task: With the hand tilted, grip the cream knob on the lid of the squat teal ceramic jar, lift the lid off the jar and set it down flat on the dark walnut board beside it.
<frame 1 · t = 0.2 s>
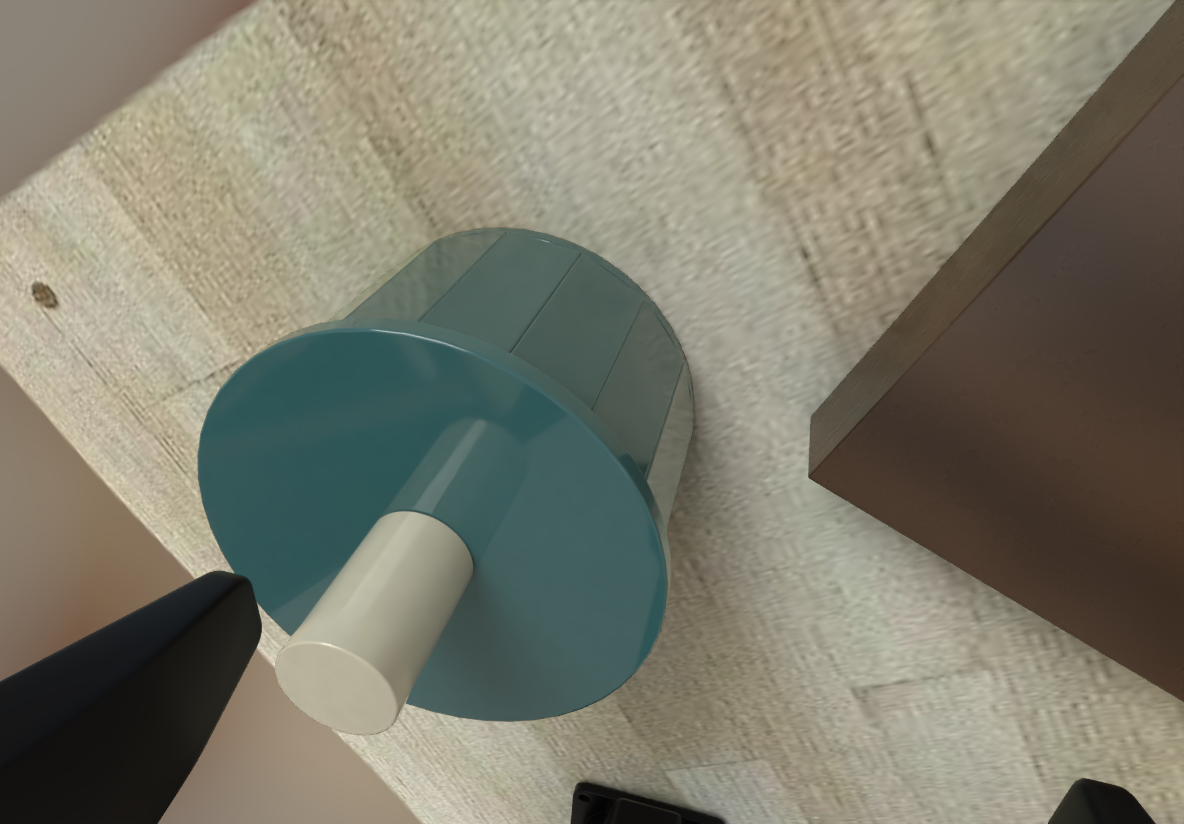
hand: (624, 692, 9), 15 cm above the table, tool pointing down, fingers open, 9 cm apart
lid: (432, 538, 19), point 7 cm above the table, touching jar
jar: (523, 392, 25), on the table
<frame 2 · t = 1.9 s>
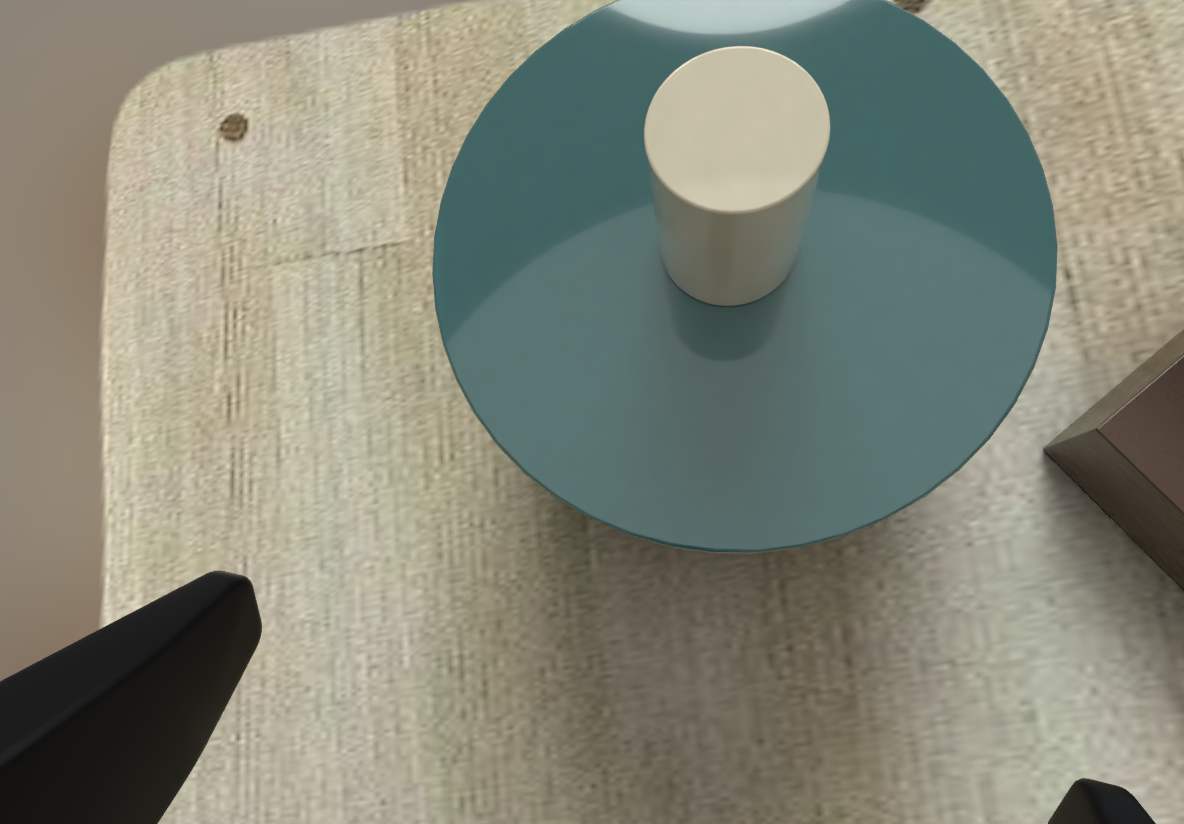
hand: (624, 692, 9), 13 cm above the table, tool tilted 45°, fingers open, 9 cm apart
lid: (727, 253, 16), point 7 cm above the table, touching jar
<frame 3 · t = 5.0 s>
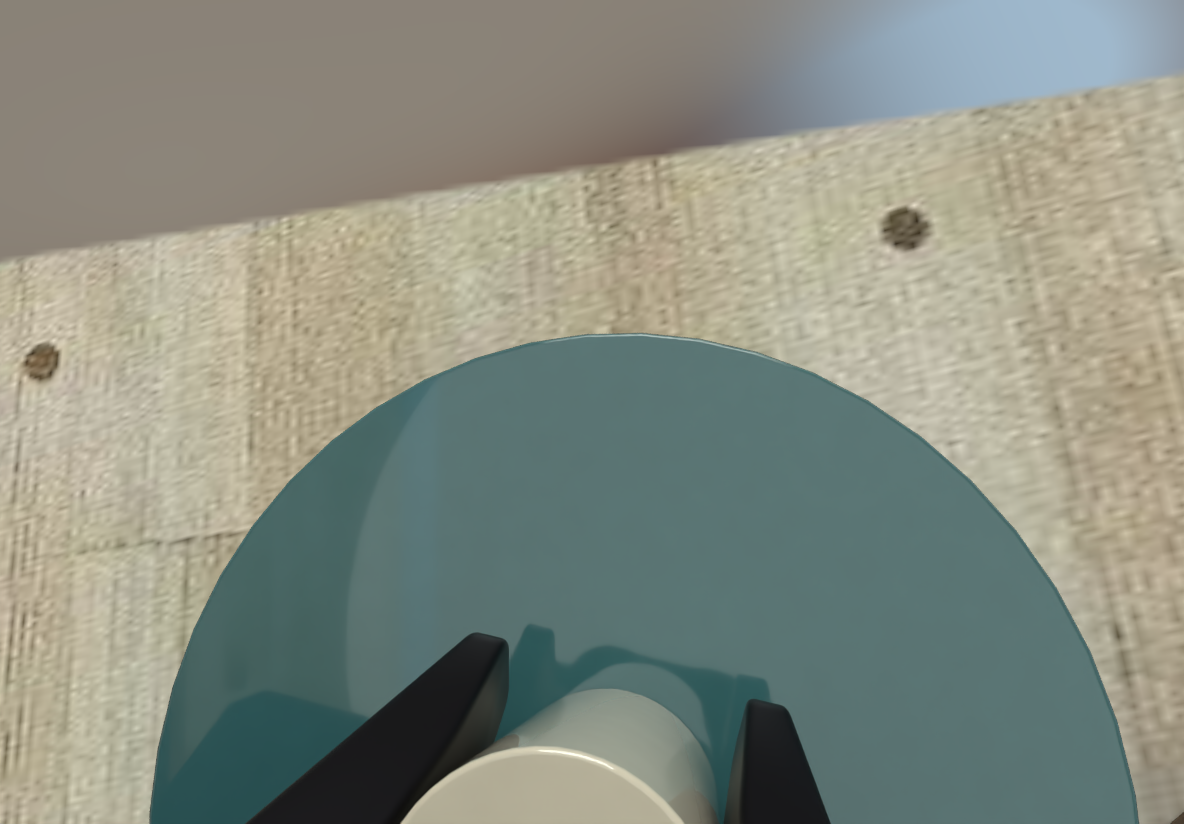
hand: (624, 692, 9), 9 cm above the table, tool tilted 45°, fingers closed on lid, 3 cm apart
lid: (612, 792, 10), point 7 cm above the table, touching gripper, jar
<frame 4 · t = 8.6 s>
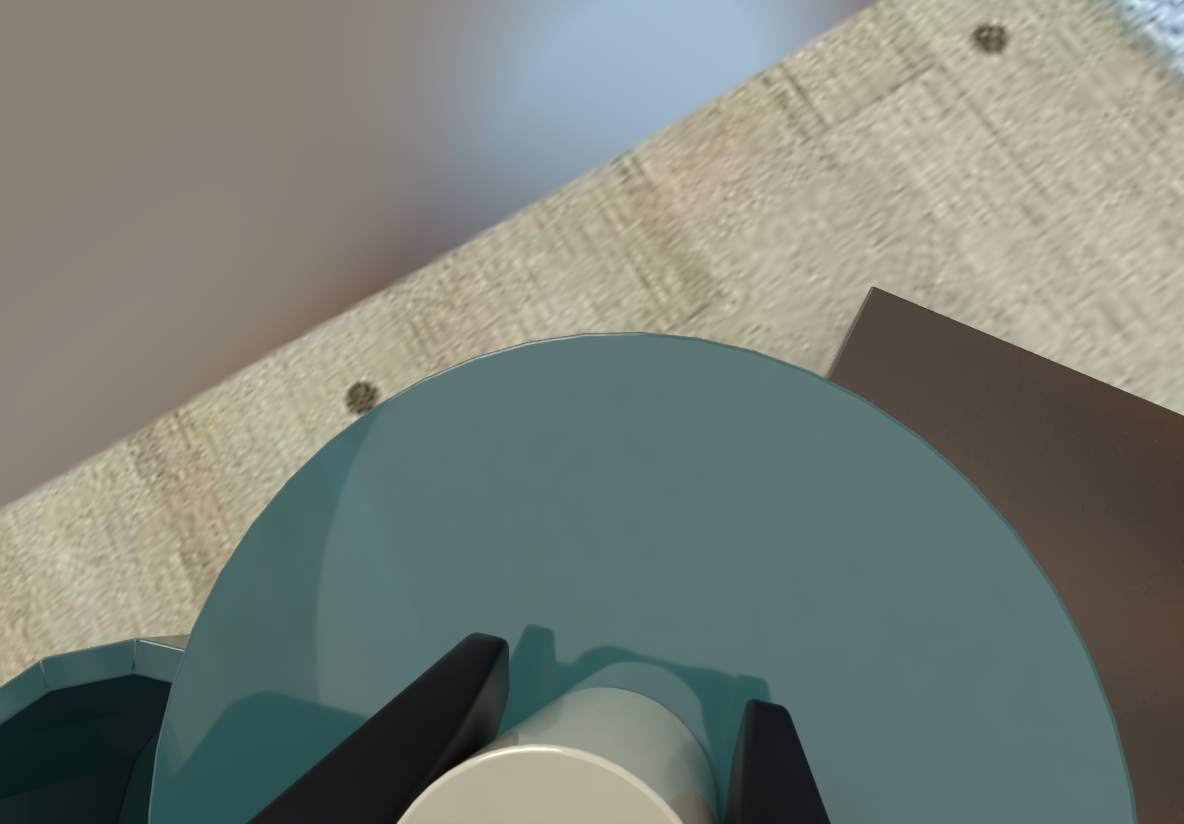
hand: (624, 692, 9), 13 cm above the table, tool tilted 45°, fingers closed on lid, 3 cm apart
board: (989, 697, 20), on the table
lid: (611, 791, 10), point 12 cm above the table, touching gripper
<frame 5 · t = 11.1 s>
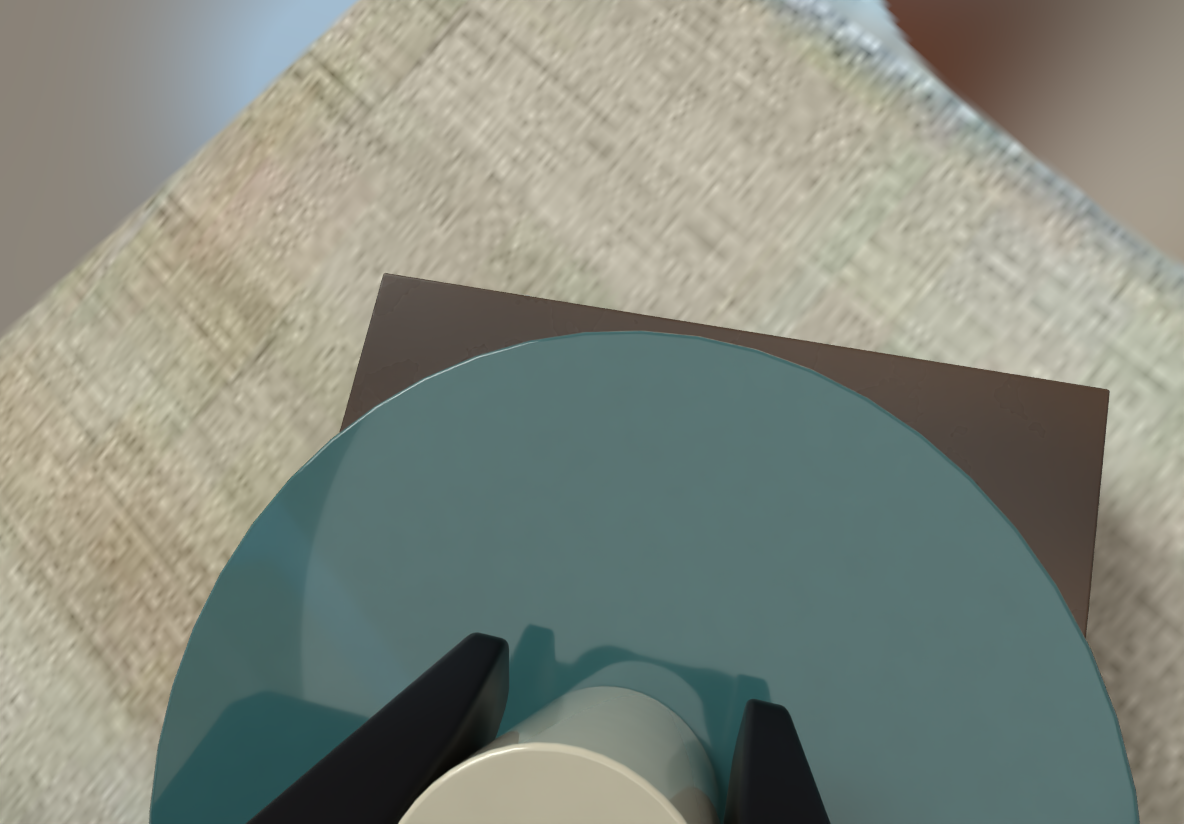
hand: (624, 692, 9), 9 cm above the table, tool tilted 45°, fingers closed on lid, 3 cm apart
board: (652, 705, 17), on the table
lid: (612, 790, 10), point 7 cm above the table, touching gripper
when the fingers open (5 cm above the table, at t = 12.5 s): lid stays where it is, resting on board.
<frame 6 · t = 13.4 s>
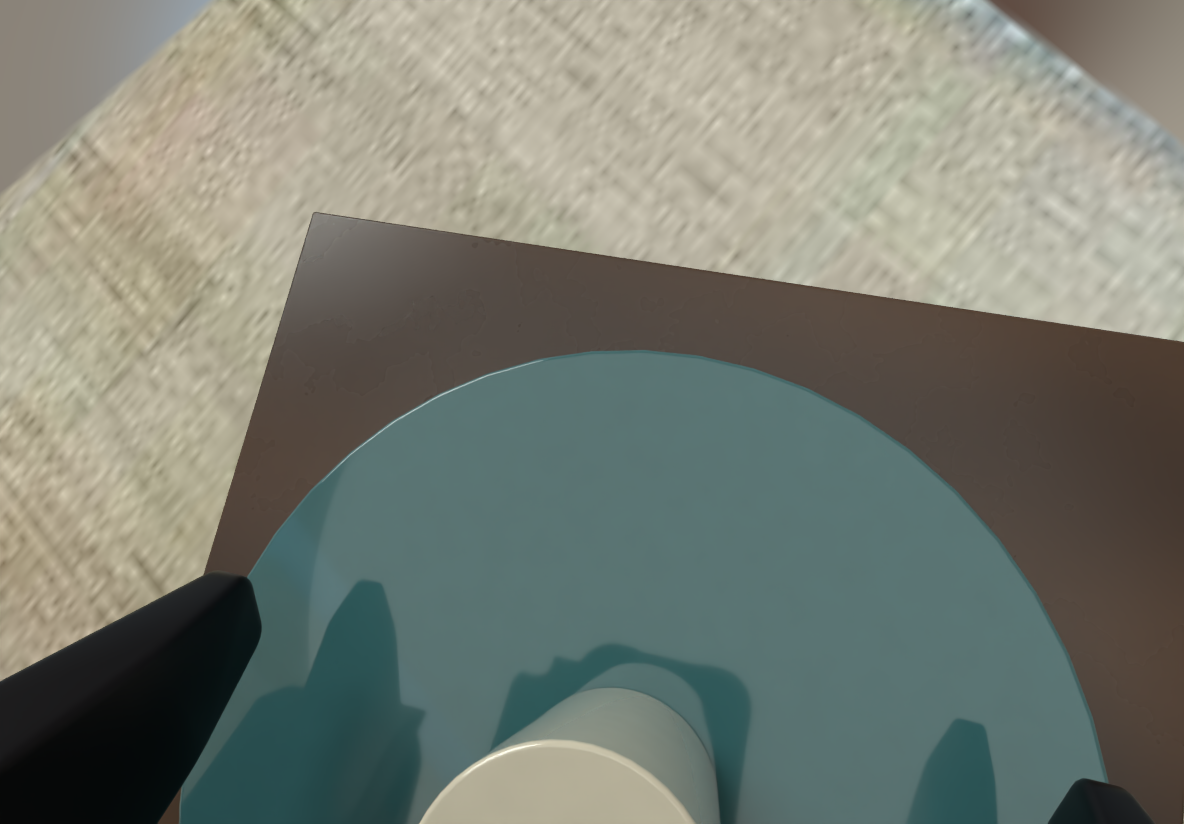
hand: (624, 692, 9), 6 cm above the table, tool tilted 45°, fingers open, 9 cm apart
board: (639, 738, 14), on the table
lid: (617, 786, 11), point 4 cm above the table, touching board
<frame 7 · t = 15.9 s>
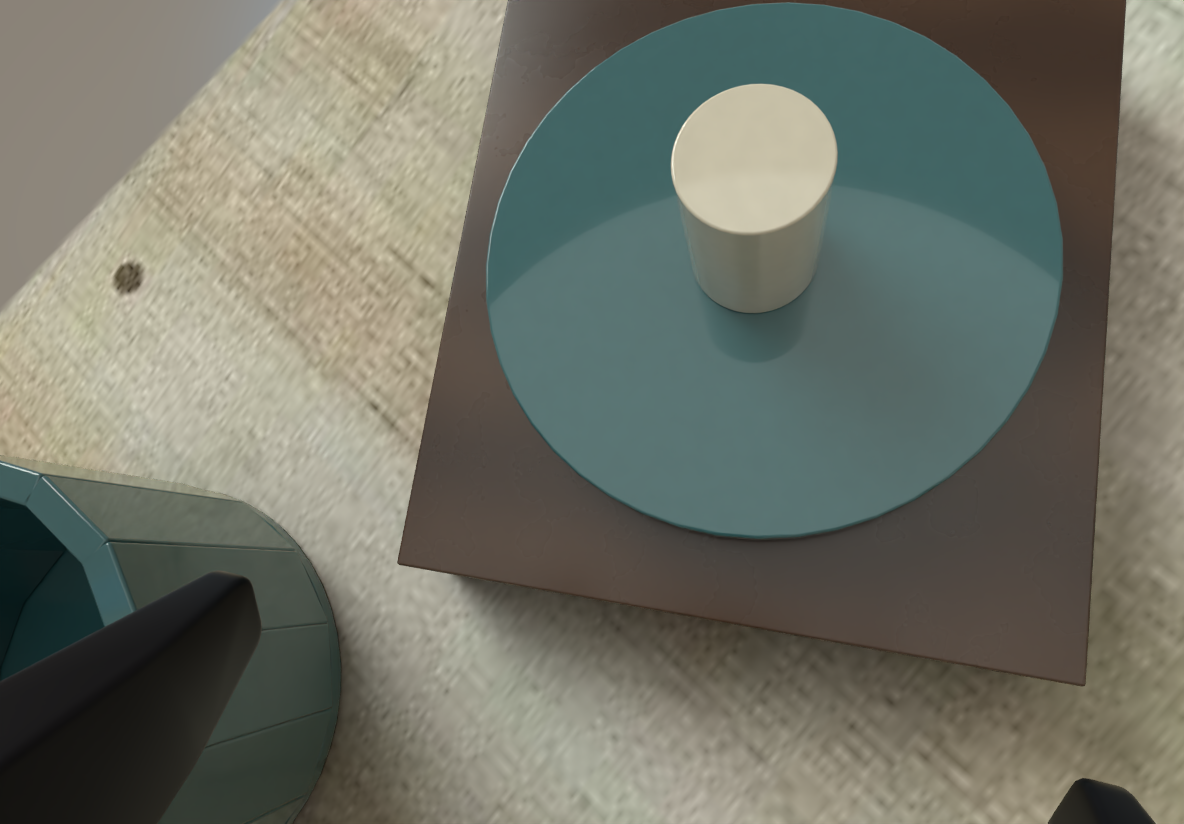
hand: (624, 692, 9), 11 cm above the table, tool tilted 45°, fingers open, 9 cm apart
board: (755, 314, 21), on the table
lid: (754, 263, 17), point 4 cm above the table, touching board
jar: (161, 683, 22), on the table
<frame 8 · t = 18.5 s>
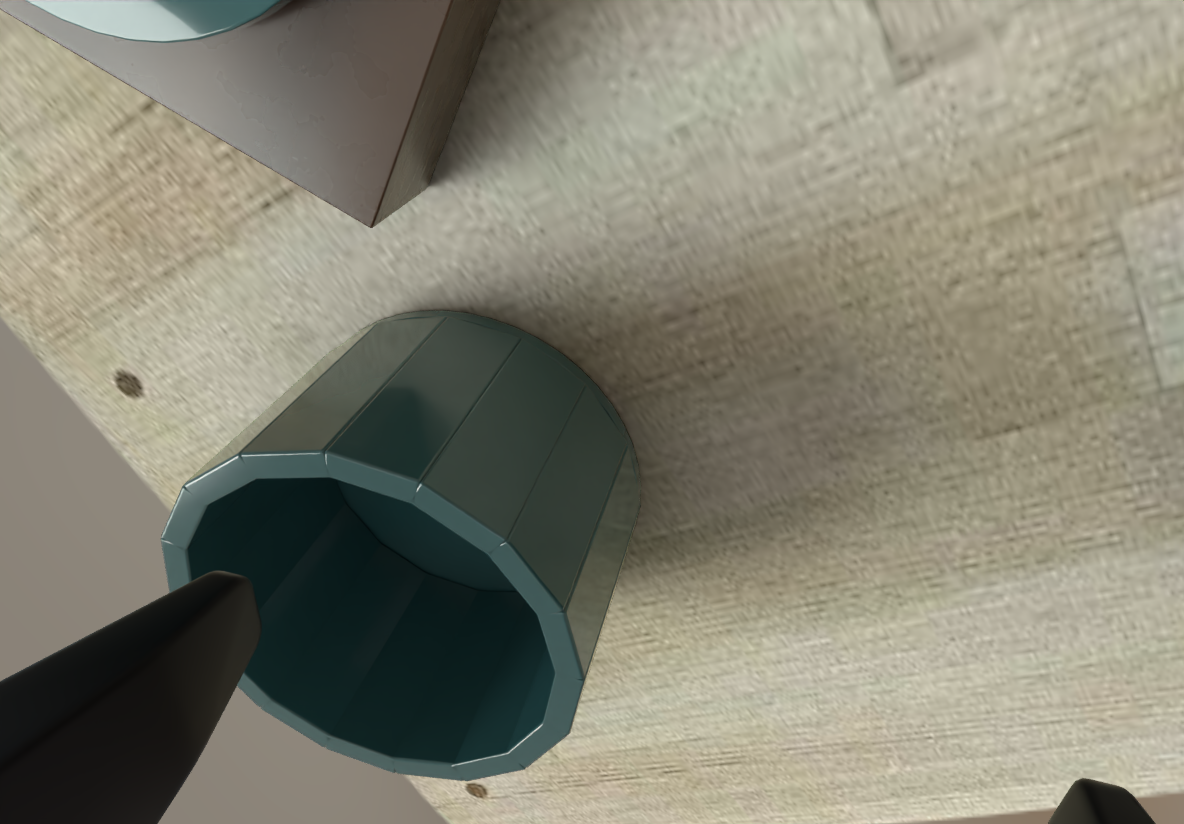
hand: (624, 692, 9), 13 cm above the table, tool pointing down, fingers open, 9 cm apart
jar: (472, 467, 25), on the table
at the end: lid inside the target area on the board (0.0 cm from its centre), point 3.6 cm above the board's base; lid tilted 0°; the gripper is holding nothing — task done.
